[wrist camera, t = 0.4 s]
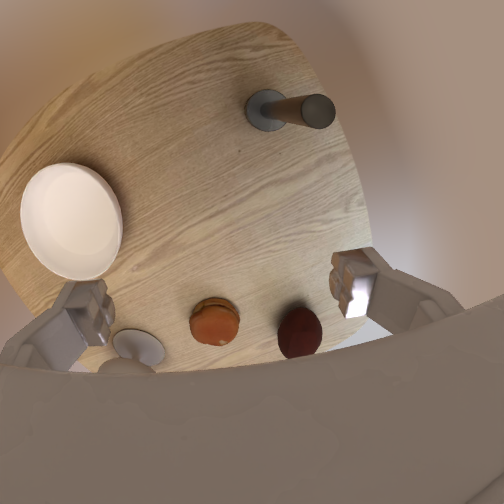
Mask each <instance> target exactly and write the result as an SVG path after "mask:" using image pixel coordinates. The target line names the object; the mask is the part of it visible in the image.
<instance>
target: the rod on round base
mask: <svg viewBox="0 0 504 504" xmlns="http://www.w3.org/2000/svg"><path fill="white" fill-rule="evenodd" d="M335 114H336V111H335V106H334V104H333V102H332V101H331V100H330V99H329V98H328V97H326V96H324V95H321V94H312V95H305V96H298V97H292V98H287V99H286V98H285V96H283V95H282V94H281V93H279V92H277V91H274V90H262V91H259V92H257V93H255V94H254V95H252V96H251V97H250V98H249V99H248V101H247V103H246V106H245V115H246V118H247V120H248V121H249V123H250V124H251V125H252V126H254V127H255V128H257V129H259V130H262V131H268V132H269V131H275V130H278V129H280V128H282V127H283V126H284V125H285V124H286V123H292V124H297V125H301V126H306V127H310V128H315V129H323V128H326V127H328V126H329V125H331V124H332V122H333V121H334V118H335Z"/></svg>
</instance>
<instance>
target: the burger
mask: <svg viewBox="0 0 504 504" xmlns="http://www.w3.org/2000/svg"><path fill="white" fill-rule="evenodd" d="M239 323H240V317H239V314H238V312H237V311H236V310H235V308H234V307H233V306H232V305H231V304H230V303H229V302H228V301H227V300H223V299H217V298H212V299H208V300H205V301H202V302H201V303H199V304H198V305H197V306H196V307H195V309H194V311H193V314H192V315H191V317H190V320H189V324H190V330H191V333H192V335H193V337H194V338H195V339H196V340H197V341H198V342H200V343H203V344H210V345H214V346H223V345H225V344H228V343H230V342H231V341H232V340H233V339H234V338H235V336H236V335H237V332H238V329H239Z"/></svg>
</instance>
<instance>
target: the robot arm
mask: <svg viewBox="0 0 504 504" xmlns="http://www.w3.org/2000/svg"><path fill="white" fill-rule="evenodd" d="M331 264H332V265H333V267H334V269H333V270H332V271H331V272H330V276H329V286H330V291H331V294H332V296H333V297H334V298H335V299H336V300H338V301H339V306H338V307H339V308H340V310H341V312H342V314H343V316H344V317H345V319H347V318H352V317H358V316H363V315H367V317H369V318H370V319H372V320H373V321H375V322H376V323H378V324H379V325H381V326H382V327H383V328H385V329H386V330H388V331H389V332H391V333H392V334H394V335H391V336H388V337H384V338H380V339H377V340H373V341H369V342H366V343H362V344H358V345H354V346H350V347H345V348H341V349H337V350H332V351H327V352H323V353H318V354H313V355H308V356H302V357H297V358H291V359H285V360H279V361H273V362H266V363H259V364H252V365H245V366H237V367H228V368H219V369H208V370H196V371H182V372H164V373H86V372H69V371H68V370H69V369H70V367H71V366H72V365H73V364H74V363H75V361H76V360H77V359H78V358H79V357H80V356H81V354H82V353H83V352H84V351H85V350H86V348H87V346H107V343H108V340H109V337H110V333H111V331H110V329H109V327H110V326H111V325H112V324H113V323H114V320H115V306H114V302H113V300H112V298H111V297H110V296H109V295H107V294H106V292H107V289H108V288H107V285H106V283H105V281H104V280H103V279H89V280H76V281H69V282H66V283H65V285H64V287H63V288H62V290H61V292H60V294H59V295H58V297H57V299H56V301H55V302H54V304H53V306H52V308H51V309H47V310H46V311H44V312H43V313H42V314H41V315H39V316H38V317H37V318H35V319H34V320H33V321H32V322H30V323H29V324H28V325H26V326H25V327H24V328H23V329H22V330H20V331H19V332H18V333H17V334H15V335H14V336H13V337H12V338H10V339H9V340H8V341H7V342H6V344H5V346H4V348H3V350H2V352H1V354H0V504H504V294H502V295H500V296H498V297H496V298H494V299H491V300H489V301H487V302H484V303H482V304H480V305H477V306H475V307H472V308H470V309H467V310H465V309H464V308H463V307H462V306H461V304H460V303H459V302H458V301H457V300H456V299H455V298H454V297H453V296H452V294H450V292H448V291H446V290H443V289H441V288H439V287H436V286H434V285H432V284H430V283H428V282H425V281H423V280H421V279H418V278H416V277H414V276H411V275H409V274H407V273H404V272H402V271H400V270H397V269H396V270H393V269H392V268H391V267H390V266H389V264H388V263H387V262H386V261H385V260H384V259H383V258H382V257H381V256H380V255H379V253H378V252H377V251H376V250H375V249H374V248H372V247H366V248H360V249H354V250H348V251H341V252H334V253H333V255H332V259H331Z"/></svg>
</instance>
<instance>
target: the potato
mask: <svg viewBox="0 0 504 504" xmlns="http://www.w3.org/2000/svg"><path fill="white" fill-rule="evenodd" d="M277 334H278V345H279V348H280V350H281V352H282V354H283V355H284V356H285V357H286V358H288V359H291V358H297V357H302V356H308V355H313V354H314V353H315V352H316V350H317V349H318V347H319V346H320V343H321V341H322V326H321V324H320V321H319V320H318V318H317V316H316V315H315V314H314V313H313V312H312V311H311V310H309V309H307V308H304V307H299V308H295V309H293V310H292V311H290V312H289V313H288V314H287V315H286V316H285V317H284V319H283V320H282V321H281V324H280V326H279V329H278V333H277Z"/></svg>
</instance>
